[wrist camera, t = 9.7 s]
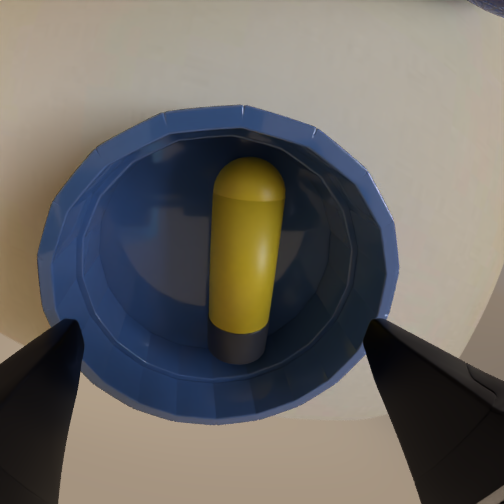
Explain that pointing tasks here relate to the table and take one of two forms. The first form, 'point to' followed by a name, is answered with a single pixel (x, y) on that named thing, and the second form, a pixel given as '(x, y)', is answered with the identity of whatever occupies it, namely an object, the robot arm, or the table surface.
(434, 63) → the table surface
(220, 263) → the marker
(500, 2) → the planter
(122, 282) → the bowl
